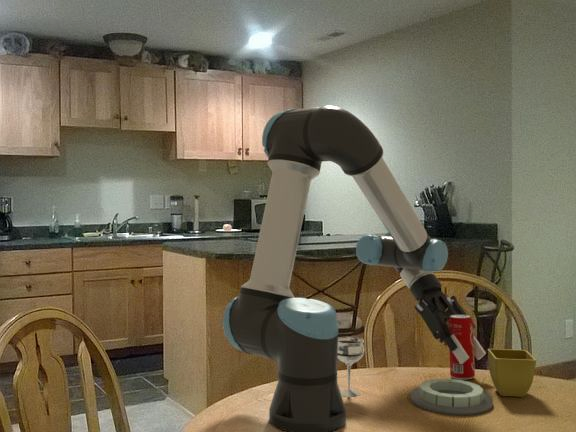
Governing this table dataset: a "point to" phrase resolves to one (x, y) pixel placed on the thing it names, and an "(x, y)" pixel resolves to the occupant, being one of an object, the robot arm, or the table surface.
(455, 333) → the beverage can
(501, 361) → the flower pot
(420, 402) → the can tray
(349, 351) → the wineglass
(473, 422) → the table surface
